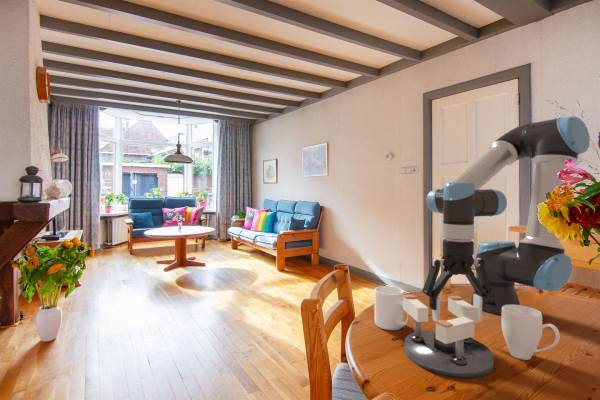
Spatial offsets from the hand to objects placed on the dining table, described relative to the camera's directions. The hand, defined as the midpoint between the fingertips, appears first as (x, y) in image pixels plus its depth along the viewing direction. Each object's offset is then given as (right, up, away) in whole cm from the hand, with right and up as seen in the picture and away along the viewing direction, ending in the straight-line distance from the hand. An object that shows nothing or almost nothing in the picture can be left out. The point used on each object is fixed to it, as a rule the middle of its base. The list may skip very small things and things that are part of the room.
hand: (456, 320), depth 88 cm
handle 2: (0, -3, -2) cm, 4 cm away
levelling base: (-6, -6, -7) cm, 11 cm away
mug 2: (+13, -6, -9) cm, 17 cm away
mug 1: (-14, -6, +10) cm, 18 cm away
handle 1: (-12, -3, -2) cm, 12 cm away
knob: (-8, -3, -15) cm, 17 cm away
